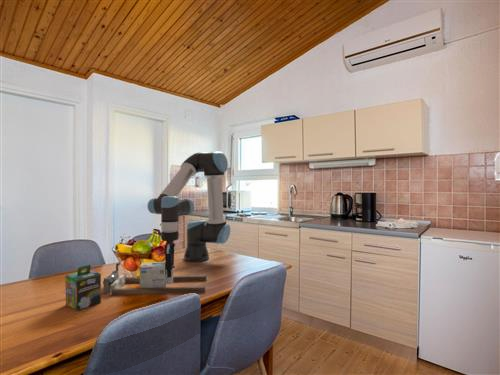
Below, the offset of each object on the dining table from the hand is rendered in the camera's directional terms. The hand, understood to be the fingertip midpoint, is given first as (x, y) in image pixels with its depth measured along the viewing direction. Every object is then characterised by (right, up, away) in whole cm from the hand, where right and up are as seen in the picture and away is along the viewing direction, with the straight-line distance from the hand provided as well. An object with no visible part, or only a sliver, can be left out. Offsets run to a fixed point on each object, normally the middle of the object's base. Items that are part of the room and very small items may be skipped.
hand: (169, 283), depth 129 cm
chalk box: (-28, -2, -19) cm, 34 cm away
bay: (-3, -1, 0) cm, 3 cm away
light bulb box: (-7, -2, -2) cm, 7 cm away
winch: (-25, -1, -1) cm, 25 cm away
